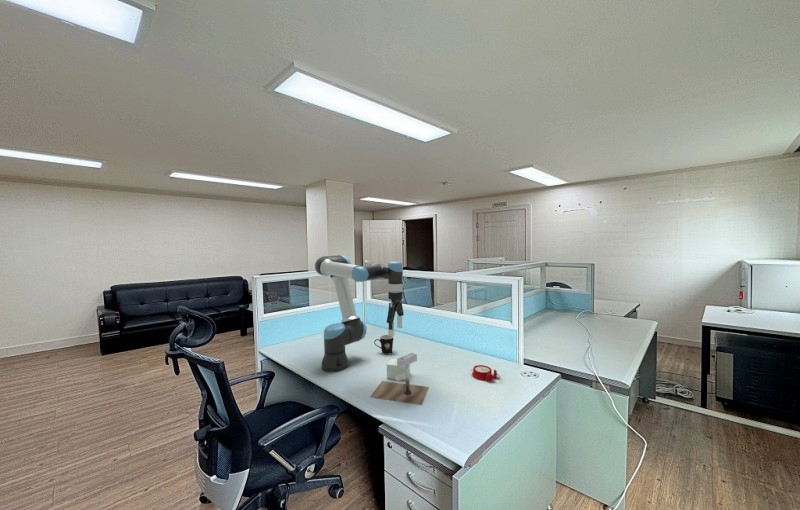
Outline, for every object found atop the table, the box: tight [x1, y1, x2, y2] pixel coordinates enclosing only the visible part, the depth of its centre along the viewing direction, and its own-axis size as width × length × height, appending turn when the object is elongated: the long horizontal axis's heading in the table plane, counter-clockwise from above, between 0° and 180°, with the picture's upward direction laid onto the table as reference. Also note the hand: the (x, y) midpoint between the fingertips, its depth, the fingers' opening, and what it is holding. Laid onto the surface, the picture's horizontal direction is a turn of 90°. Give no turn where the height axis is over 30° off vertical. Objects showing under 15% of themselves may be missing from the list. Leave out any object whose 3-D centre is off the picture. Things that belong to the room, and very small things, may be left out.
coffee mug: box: [374, 334, 394, 355], centre depth 193 cm, size 12×9×10 cm
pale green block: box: [386, 358, 411, 381], centre depth 157 cm, size 10×8×8 cm
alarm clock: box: [471, 364, 501, 383], centre depth 156 cm, size 10×6×15 cm
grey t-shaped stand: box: [394, 352, 418, 392], centre depth 138 cm, size 12×3×16 cm, turn 135°
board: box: [369, 380, 430, 406], centre depth 140 cm, size 24×16×2 cm
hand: (395, 331), depth 159 cm, fingers open, 13 cm apart
